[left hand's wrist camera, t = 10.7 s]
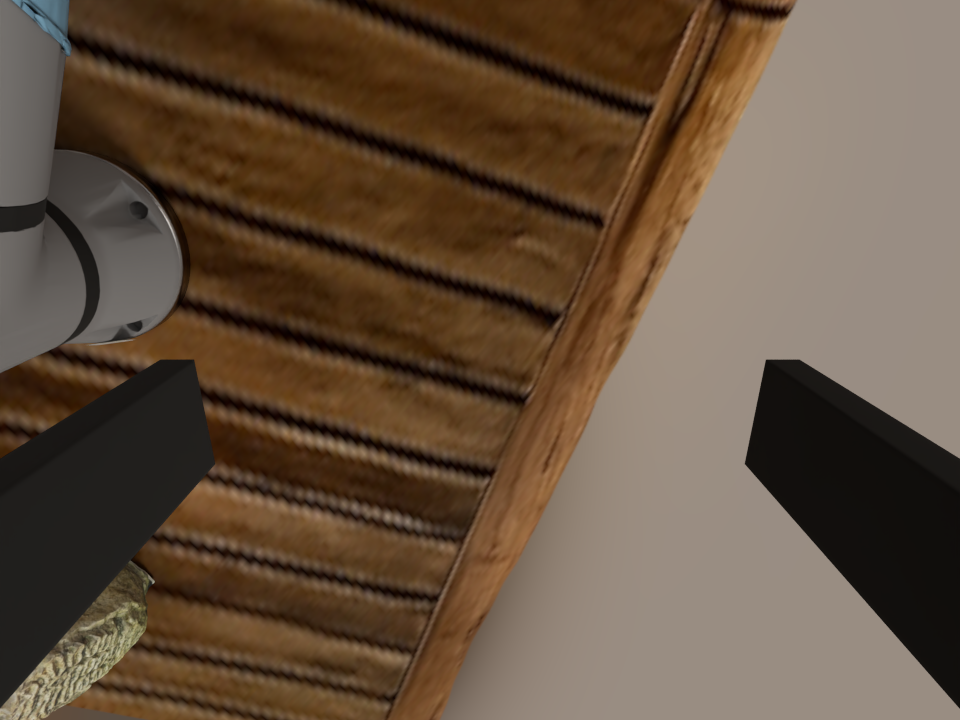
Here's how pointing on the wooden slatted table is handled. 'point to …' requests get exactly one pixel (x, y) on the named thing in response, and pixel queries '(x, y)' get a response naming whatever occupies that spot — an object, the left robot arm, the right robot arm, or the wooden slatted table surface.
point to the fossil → (85, 648)
